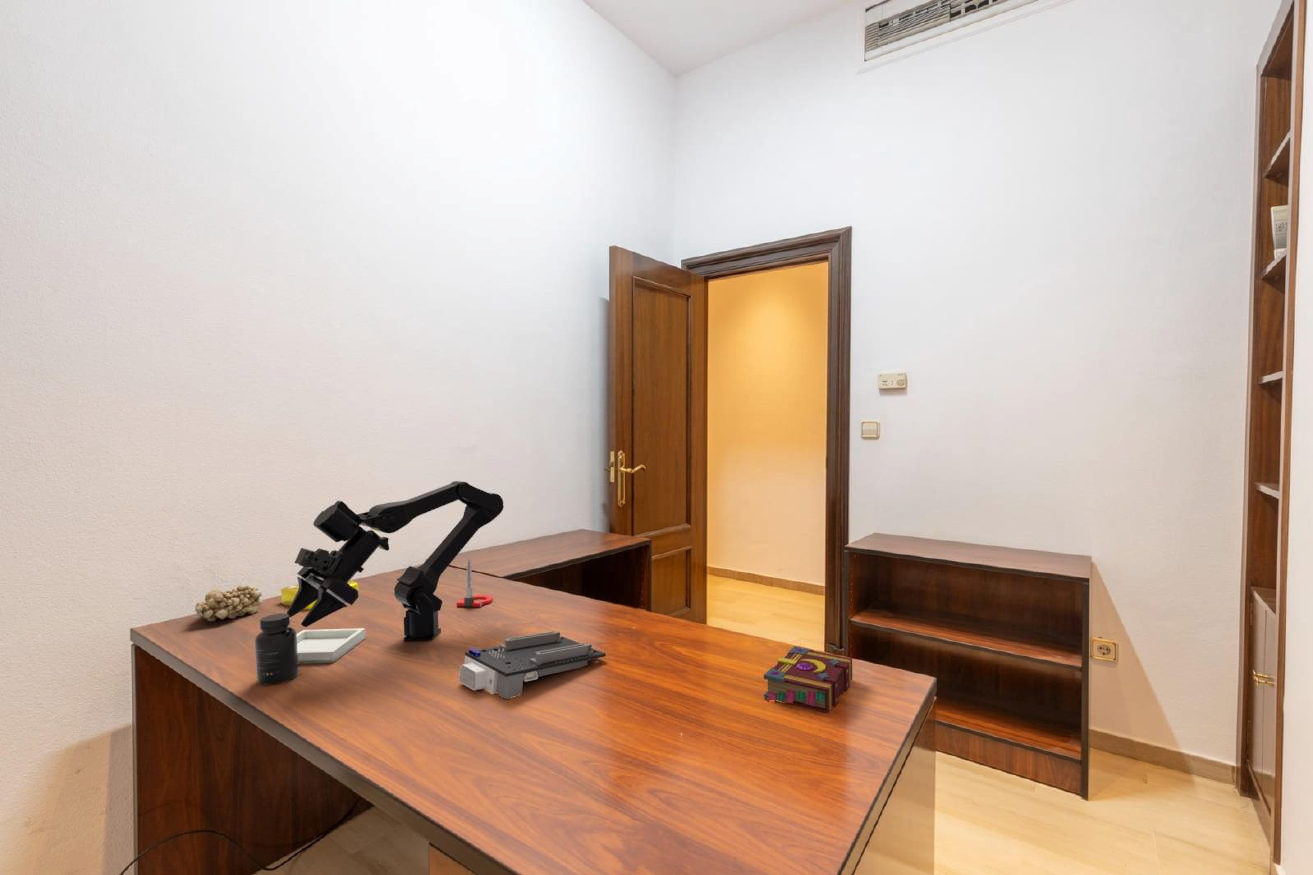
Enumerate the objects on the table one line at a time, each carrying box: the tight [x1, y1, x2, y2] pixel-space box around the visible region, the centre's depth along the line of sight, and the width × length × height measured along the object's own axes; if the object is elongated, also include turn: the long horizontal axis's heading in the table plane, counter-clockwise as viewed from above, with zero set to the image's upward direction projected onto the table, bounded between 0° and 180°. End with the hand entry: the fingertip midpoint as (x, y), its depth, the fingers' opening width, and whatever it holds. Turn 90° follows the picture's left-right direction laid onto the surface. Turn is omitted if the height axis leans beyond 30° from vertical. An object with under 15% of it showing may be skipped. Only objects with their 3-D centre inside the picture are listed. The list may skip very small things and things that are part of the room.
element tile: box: [280, 580, 359, 611], centre depth 168 cm, size 15×15×5 cm
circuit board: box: [458, 630, 606, 700], centre depth 116 cm, size 25×7×15 cm
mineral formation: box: [194, 584, 264, 622], centre depth 153 cm, size 8×13×15 cm
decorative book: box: [763, 645, 853, 714], centre depth 105 cm, size 11×16×5 cm
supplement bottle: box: [254, 612, 299, 686], centre depth 115 cm, size 7×7×12 cm
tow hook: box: [456, 557, 494, 609], centre depth 162 cm, size 8×13×9 cm
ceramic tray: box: [296, 627, 366, 665], centre depth 129 cm, size 14×14×2 cm
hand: (295, 620), depth 118 cm, fingers open, 9 cm apart
